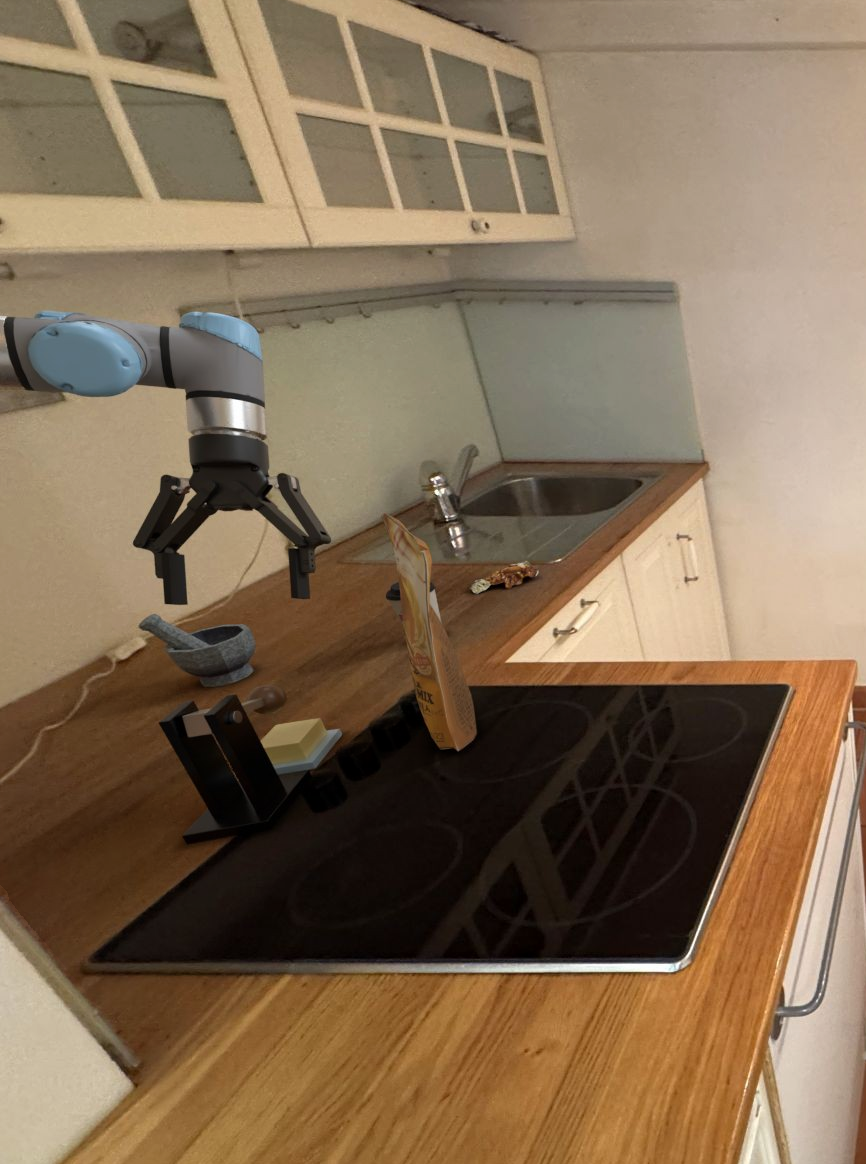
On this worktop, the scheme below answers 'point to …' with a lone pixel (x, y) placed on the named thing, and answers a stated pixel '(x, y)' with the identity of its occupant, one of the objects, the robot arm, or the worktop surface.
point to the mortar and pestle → (207, 650)
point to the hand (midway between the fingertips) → (239, 601)
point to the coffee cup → (395, 600)
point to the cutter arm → (259, 701)
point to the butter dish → (299, 745)
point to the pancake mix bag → (430, 646)
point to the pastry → (506, 576)
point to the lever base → (227, 799)
